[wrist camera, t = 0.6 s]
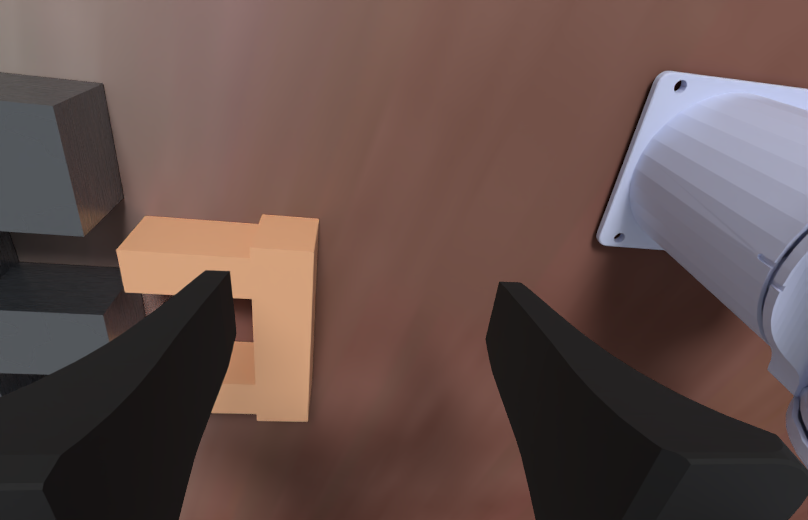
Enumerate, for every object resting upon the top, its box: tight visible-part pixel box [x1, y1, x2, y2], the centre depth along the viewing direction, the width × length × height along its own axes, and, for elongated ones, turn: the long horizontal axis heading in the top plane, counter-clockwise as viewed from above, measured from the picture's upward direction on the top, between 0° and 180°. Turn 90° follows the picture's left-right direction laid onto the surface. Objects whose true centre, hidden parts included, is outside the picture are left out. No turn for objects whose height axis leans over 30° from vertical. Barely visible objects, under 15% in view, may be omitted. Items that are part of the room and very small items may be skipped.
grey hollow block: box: [0, 72, 146, 397], centre depth 21 cm, size 6×20×4 cm, turn 173°
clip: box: [116, 214, 319, 422], centre depth 23 cm, size 8×10×3 cm
